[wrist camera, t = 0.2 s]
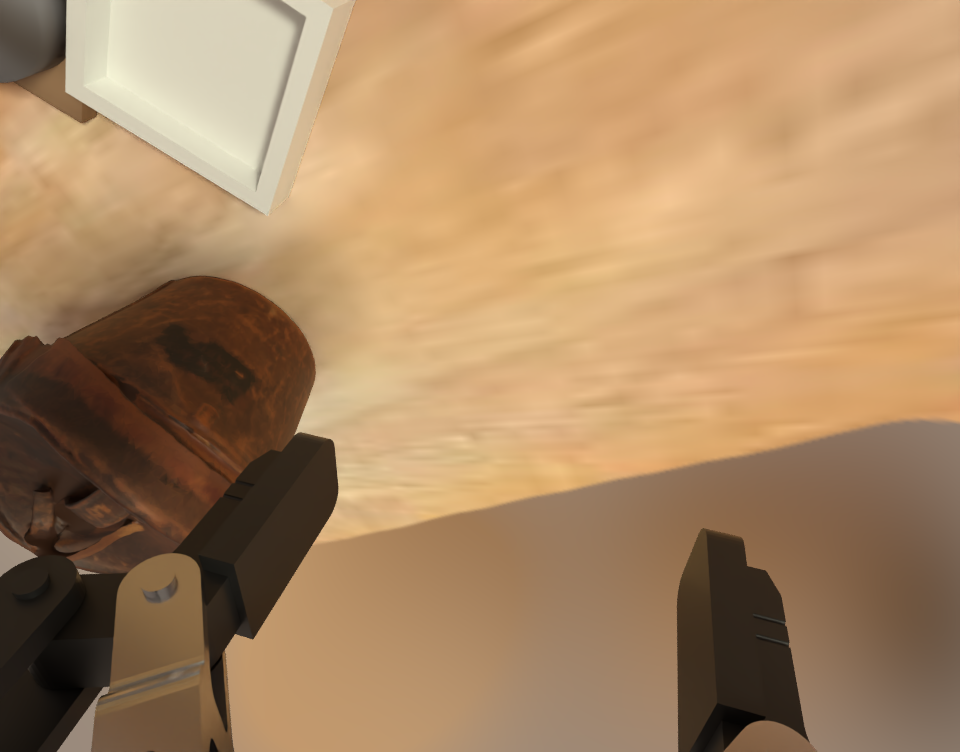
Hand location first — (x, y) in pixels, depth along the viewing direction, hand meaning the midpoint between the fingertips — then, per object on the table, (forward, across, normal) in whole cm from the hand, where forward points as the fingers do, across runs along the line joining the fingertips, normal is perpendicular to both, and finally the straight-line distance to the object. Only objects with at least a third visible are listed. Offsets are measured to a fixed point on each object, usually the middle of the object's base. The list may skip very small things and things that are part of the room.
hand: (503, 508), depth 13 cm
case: (+25, +25, +16) cm, 39 cm away
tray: (+22, +21, -5) cm, 30 cm away
